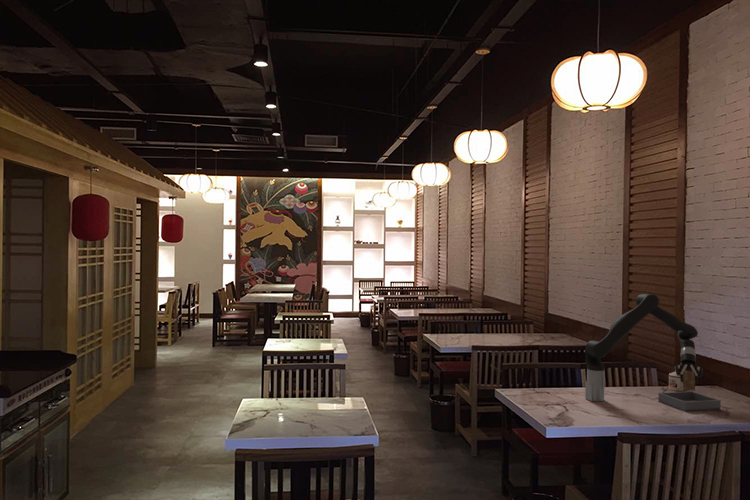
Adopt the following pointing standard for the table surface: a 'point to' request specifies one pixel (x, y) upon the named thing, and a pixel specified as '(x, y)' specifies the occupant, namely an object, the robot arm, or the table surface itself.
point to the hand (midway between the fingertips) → (689, 382)
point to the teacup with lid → (675, 382)
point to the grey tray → (689, 401)
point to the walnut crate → (689, 380)
